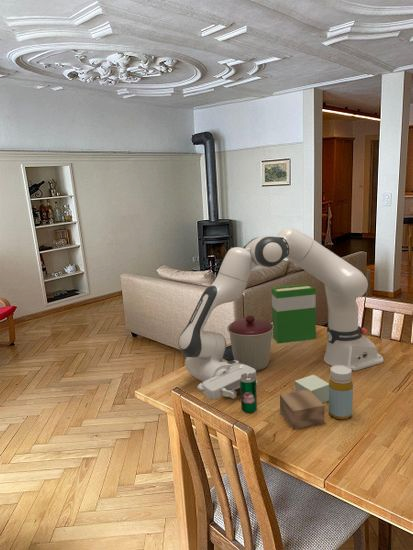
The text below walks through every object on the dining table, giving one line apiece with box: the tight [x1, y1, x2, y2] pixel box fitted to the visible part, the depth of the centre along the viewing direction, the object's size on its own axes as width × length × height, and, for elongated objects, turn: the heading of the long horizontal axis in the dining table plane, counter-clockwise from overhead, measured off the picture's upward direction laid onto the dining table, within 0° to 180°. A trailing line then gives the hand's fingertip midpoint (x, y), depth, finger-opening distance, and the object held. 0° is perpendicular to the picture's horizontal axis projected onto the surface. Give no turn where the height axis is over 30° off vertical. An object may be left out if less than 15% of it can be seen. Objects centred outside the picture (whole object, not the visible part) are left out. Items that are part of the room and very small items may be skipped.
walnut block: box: [279, 389, 325, 430], centre depth 126 cm, size 10×10×6 cm
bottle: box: [328, 365, 354, 420], centre depth 125 cm, size 7×7×15 cm
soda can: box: [239, 373, 258, 414], centre depth 131 cm, size 5×5×12 cm
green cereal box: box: [271, 283, 317, 345], centre depth 185 cm, size 18×7×24 cm, turn 98°
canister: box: [226, 314, 274, 372], centre depth 161 cm, size 18×18×21 cm
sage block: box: [294, 374, 329, 404], centre depth 136 cm, size 8×8×6 cm
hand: (245, 390), depth 132 cm, fingers open, 8 cm apart
